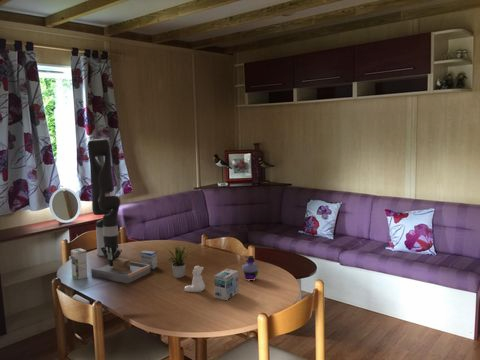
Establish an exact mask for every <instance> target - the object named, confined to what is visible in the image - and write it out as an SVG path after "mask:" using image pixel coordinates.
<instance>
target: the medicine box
mask: <svg viewBox="0 0 480 360" xmlns="http://www.w3.org/2000/svg"><path fill="white" fill-rule="evenodd" d="M157 253H158V252H157V251H152V250H142V251H141V252H140V255H139V256H140V257H139V258H140V263H143V264H149V265H151V270H153V269H156V268H157V267H158V256H157Z"/></svg>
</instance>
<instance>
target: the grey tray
mask: <svg viewBox="0 0 480 360" xmlns="http://www.w3.org/2000/svg"><path fill="white" fill-rule="evenodd" d="M116 259H117V258H116ZM116 259H115V260H116ZM90 270H91V274H90V275H91V277H92V278H93V277H95V278H99V279H103V280H108V281H113V282H119V283H123V284H130V283H132V282H133V281H136V280H138V279H140V278H141V277H144V276H146V275H149V274H150V273H151V272H152V269H151V265H149V264H143V263H141V262H136V261H131V260H130V269H129V270H127V271H124V272H122V271H116V270H113V266H110V265H109V263H108V264H106V265H103V266H101V267H98V268H92V267H91V268H90Z"/></svg>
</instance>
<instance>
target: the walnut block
mask: <svg viewBox="0 0 480 360" xmlns="http://www.w3.org/2000/svg"><path fill="white" fill-rule="evenodd" d="M130 261H131V260H130V259H128V258H127V259H126V258H121V257H118V258H116V260H113V270H116V271H122V272H124V271H127V270H129V269H130Z"/></svg>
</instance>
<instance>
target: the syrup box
mask: <svg viewBox="0 0 480 360" xmlns="http://www.w3.org/2000/svg"><path fill="white" fill-rule="evenodd" d="M70 260H71V277H72V279H75V280H77V281H78V280H83V279H85V278H88V262H87V260H88V259H87V250H86V249H83V248H75V249H71V250H70Z"/></svg>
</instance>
